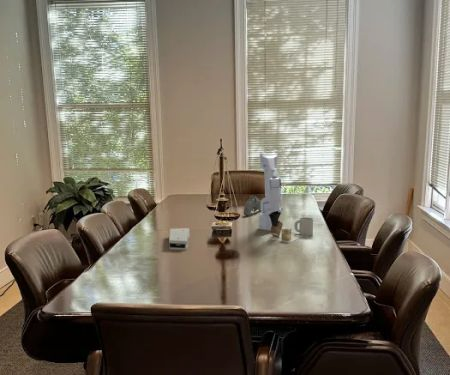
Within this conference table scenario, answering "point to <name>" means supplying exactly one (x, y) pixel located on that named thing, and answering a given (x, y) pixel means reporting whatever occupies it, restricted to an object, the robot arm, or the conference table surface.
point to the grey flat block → (179, 238)
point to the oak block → (286, 234)
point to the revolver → (252, 205)
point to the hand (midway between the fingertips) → (274, 225)
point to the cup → (304, 226)
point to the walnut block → (276, 229)
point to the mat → (269, 236)
